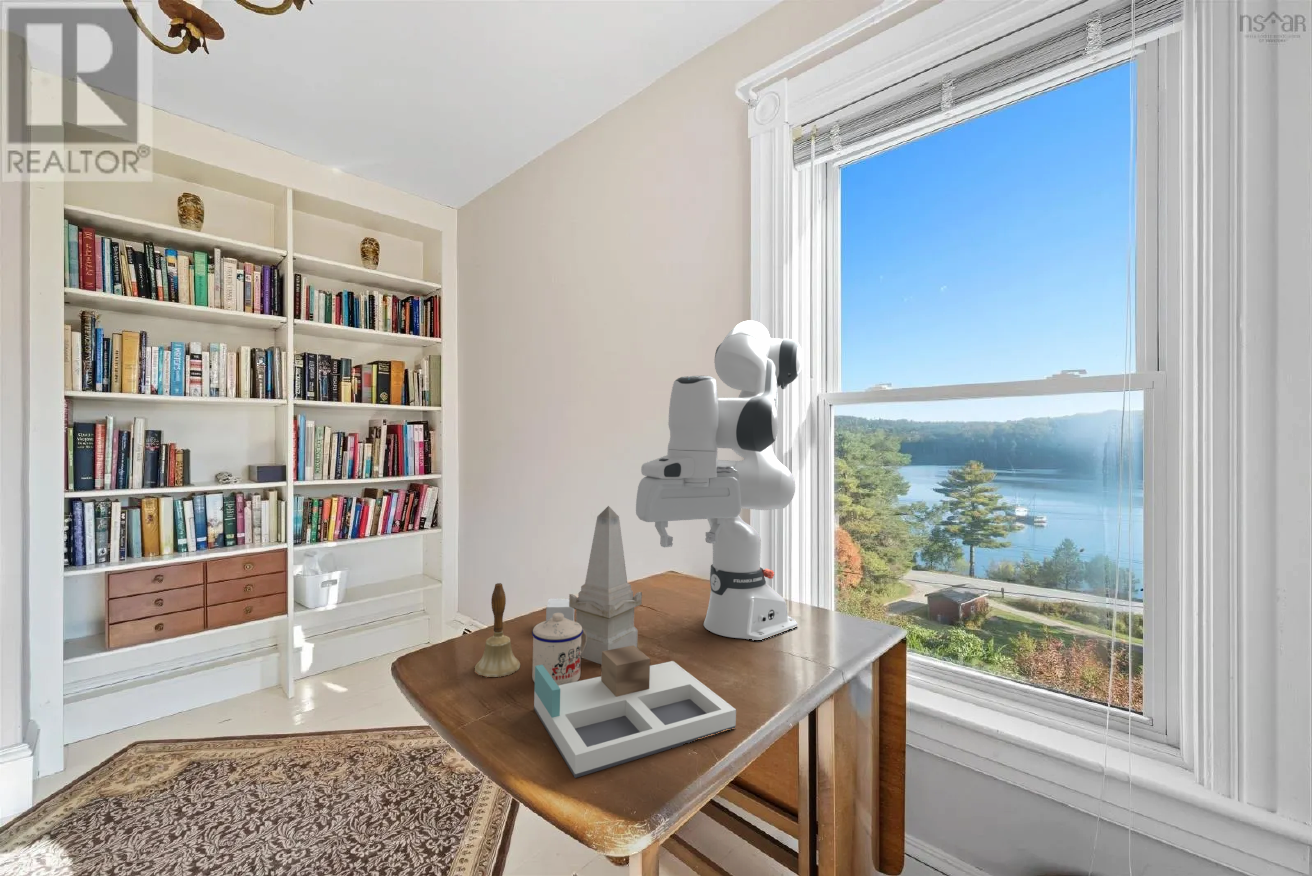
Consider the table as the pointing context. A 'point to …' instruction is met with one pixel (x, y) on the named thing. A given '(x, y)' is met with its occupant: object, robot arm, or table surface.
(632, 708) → the board
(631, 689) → the walnut block
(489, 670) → the hand bell
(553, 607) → the white cube
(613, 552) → the miniature monument
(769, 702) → the table surface
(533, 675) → the teacup with lid
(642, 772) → the table surface
